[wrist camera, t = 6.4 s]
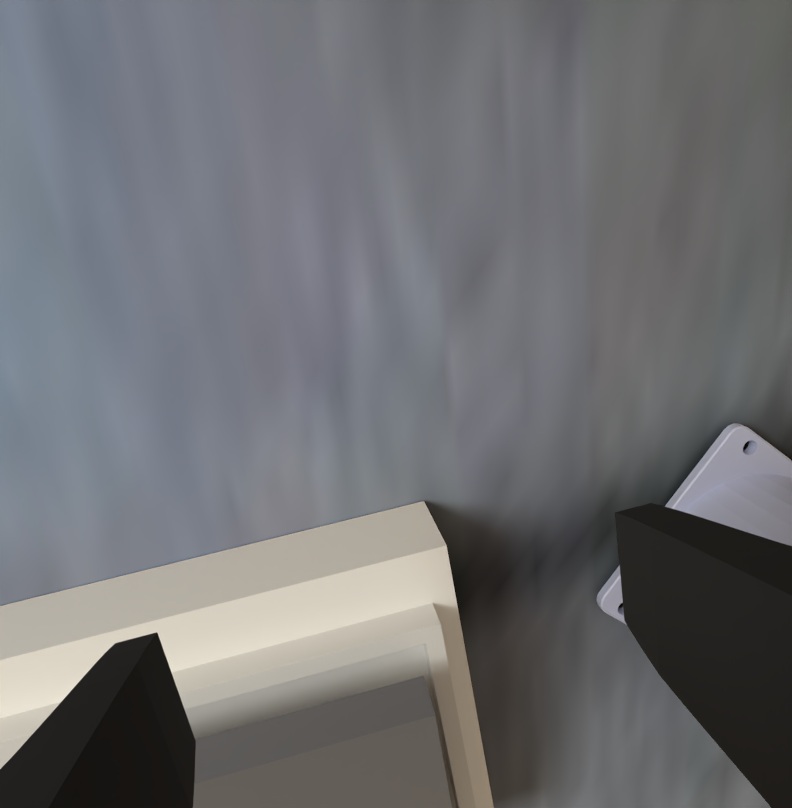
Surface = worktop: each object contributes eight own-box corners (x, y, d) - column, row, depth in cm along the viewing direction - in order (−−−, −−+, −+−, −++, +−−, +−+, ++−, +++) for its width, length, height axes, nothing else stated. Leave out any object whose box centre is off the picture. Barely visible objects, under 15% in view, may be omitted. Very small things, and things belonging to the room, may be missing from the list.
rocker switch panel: (424, 501, 21) (455, 563, 17) (476, 781, 25) (512, 884, 21) (-432, 713, 18) (-619, 843, 14) (-230, 993, 22) (-337, 1156, 18)
